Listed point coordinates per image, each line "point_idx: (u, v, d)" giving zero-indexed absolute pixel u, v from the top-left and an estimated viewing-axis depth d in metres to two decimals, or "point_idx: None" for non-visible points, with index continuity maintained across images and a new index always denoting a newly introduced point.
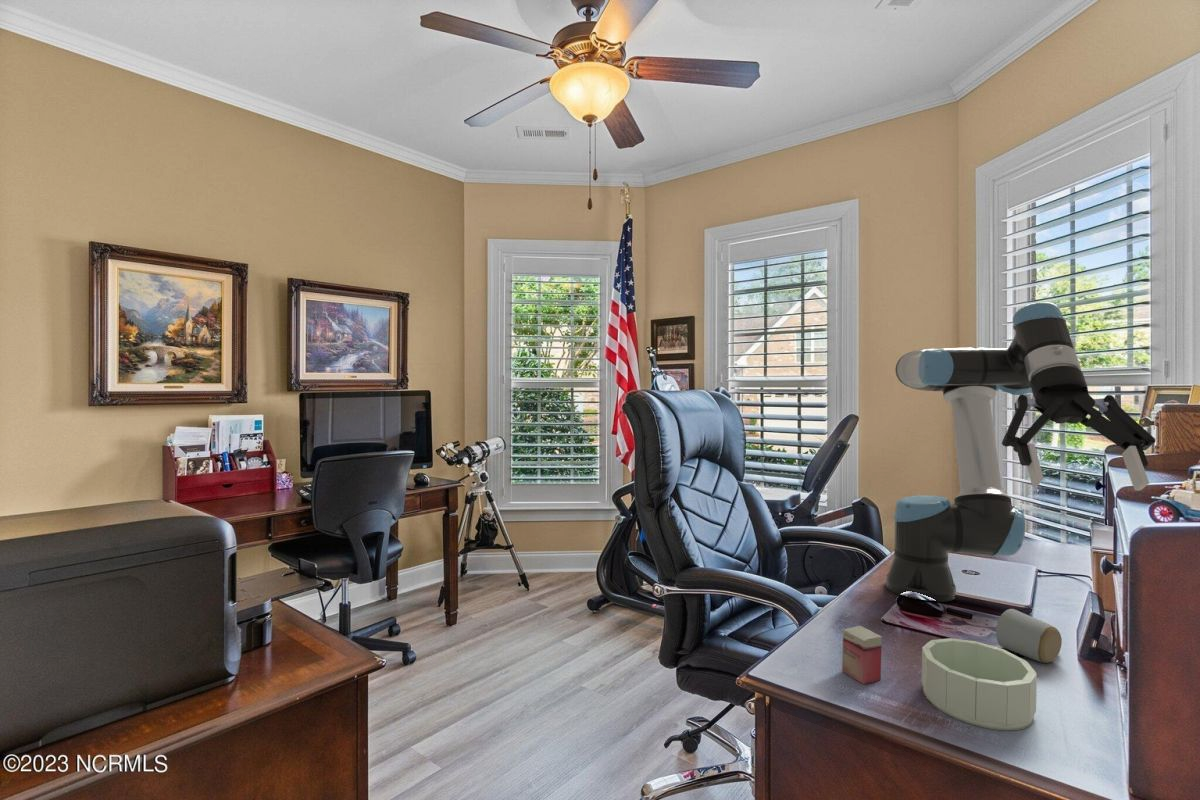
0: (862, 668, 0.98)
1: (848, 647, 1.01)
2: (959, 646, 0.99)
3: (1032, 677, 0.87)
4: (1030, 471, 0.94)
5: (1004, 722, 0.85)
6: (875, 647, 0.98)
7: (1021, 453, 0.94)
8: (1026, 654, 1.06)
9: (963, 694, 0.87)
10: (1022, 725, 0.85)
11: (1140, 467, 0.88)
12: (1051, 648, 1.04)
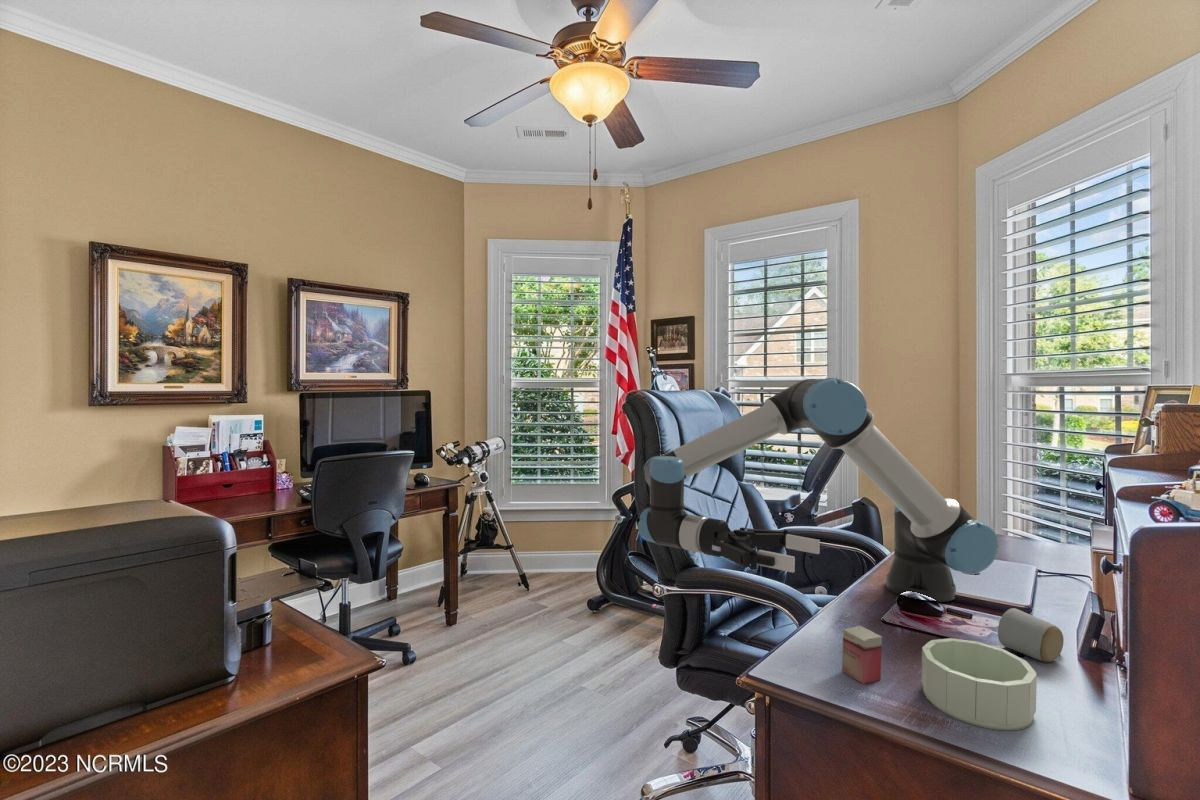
0: (862, 668, 0.98)
1: (848, 647, 1.01)
2: (959, 646, 0.99)
3: (1032, 677, 0.87)
4: None
5: (1004, 722, 0.85)
6: (875, 647, 0.98)
7: None
8: (1028, 653, 1.06)
9: (963, 694, 0.87)
10: (1022, 725, 0.85)
11: None
12: (1053, 647, 1.04)
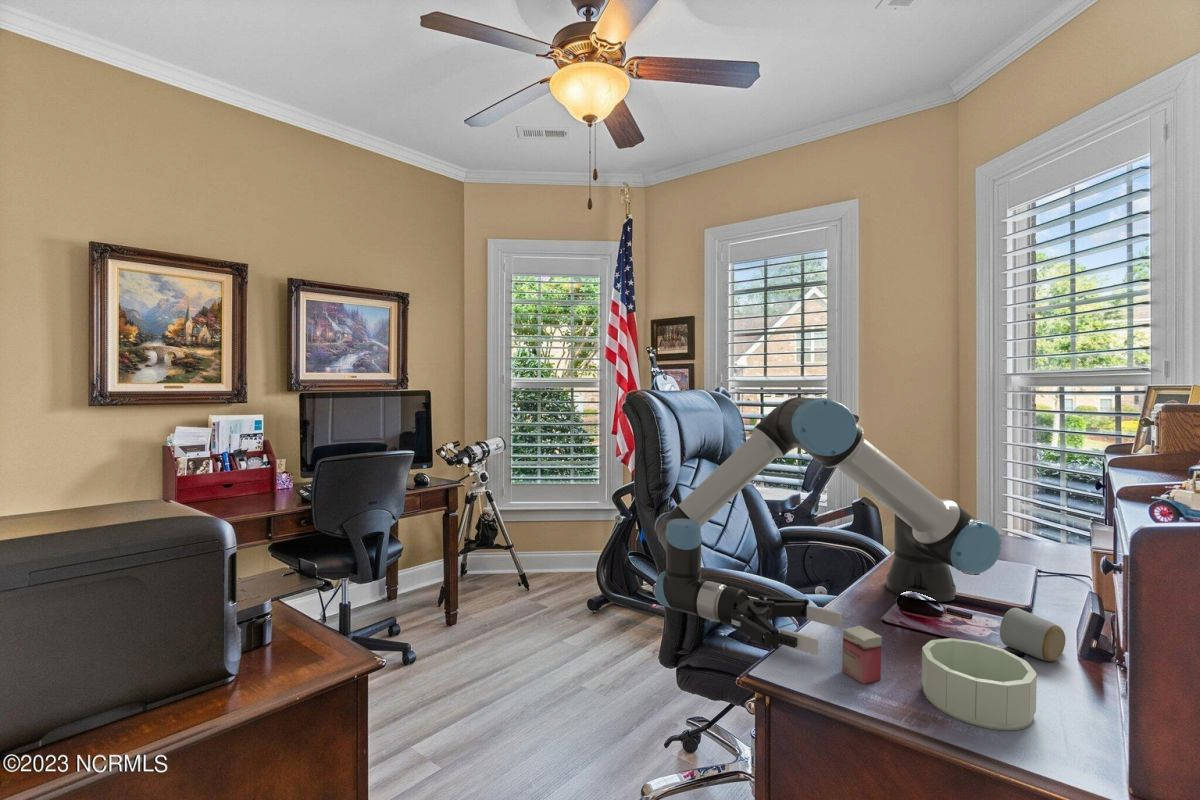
0: (862, 668, 0.98)
1: (848, 647, 1.01)
2: (959, 646, 0.99)
3: (1032, 677, 0.87)
4: None
5: (1004, 722, 0.85)
6: (875, 647, 0.98)
7: None
8: (1030, 652, 1.06)
9: (963, 694, 0.87)
10: (1022, 725, 0.85)
11: None
12: (1055, 646, 1.05)
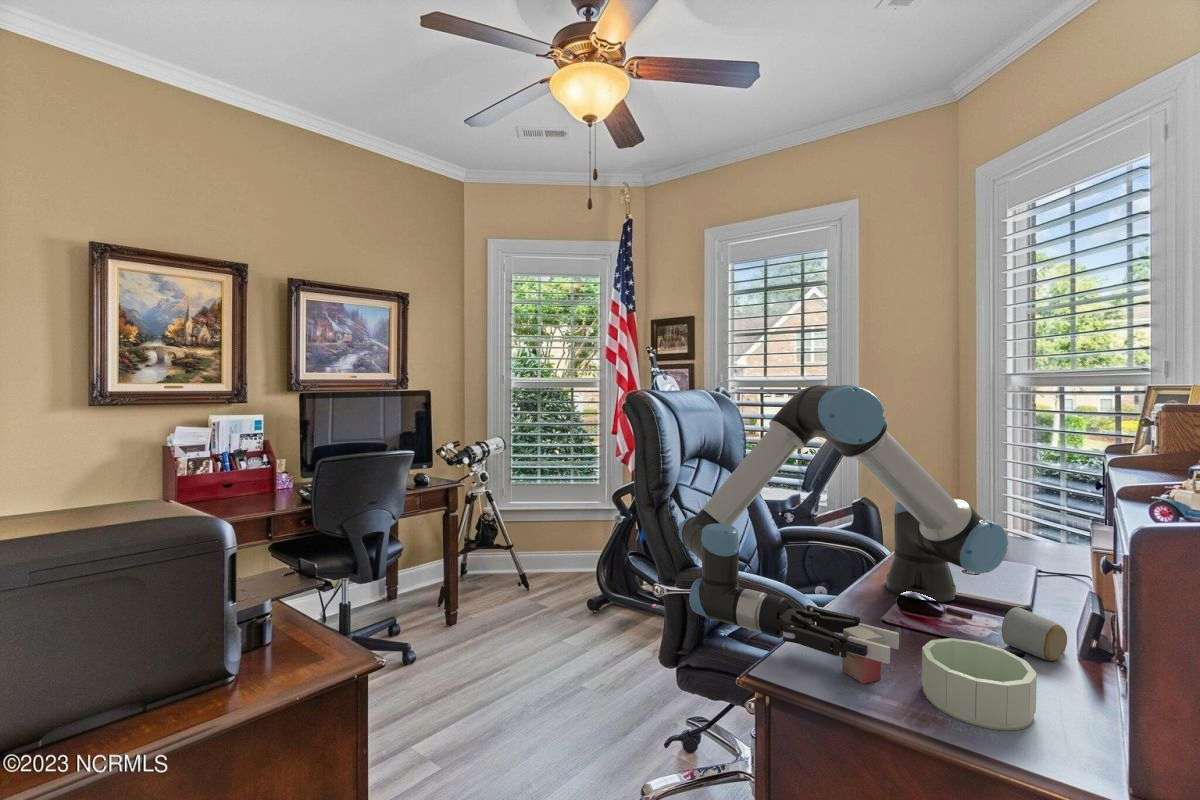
0: (862, 668, 0.98)
1: None
2: (959, 646, 0.99)
3: (1032, 677, 0.87)
4: None
5: (1004, 722, 0.85)
6: None
7: None
8: (1032, 652, 1.06)
9: (963, 694, 0.87)
10: (1022, 725, 0.85)
11: None
12: (1056, 646, 1.05)
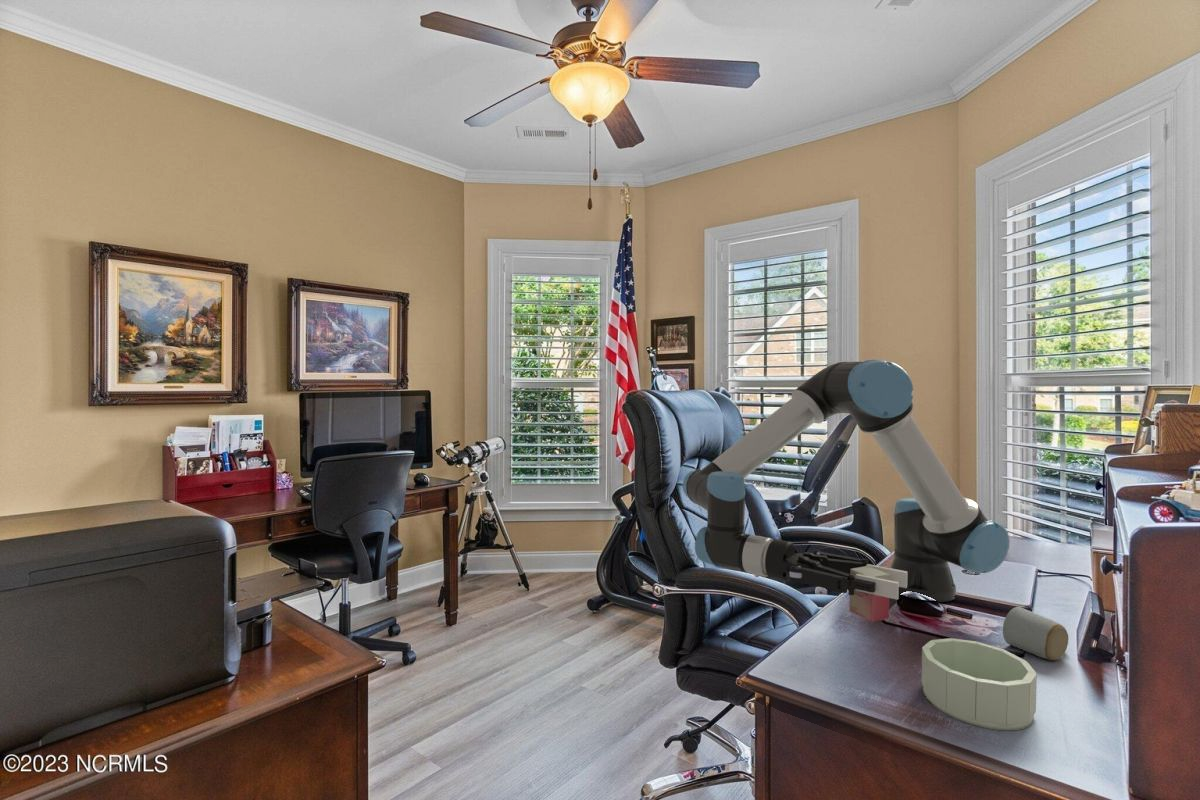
0: (870, 605, 0.97)
1: None
2: (959, 646, 0.99)
3: (1032, 677, 0.87)
4: None
5: (1004, 722, 0.85)
6: None
7: None
8: (1033, 651, 1.07)
9: (963, 694, 0.87)
10: (1022, 725, 0.85)
11: None
12: (1058, 645, 1.05)
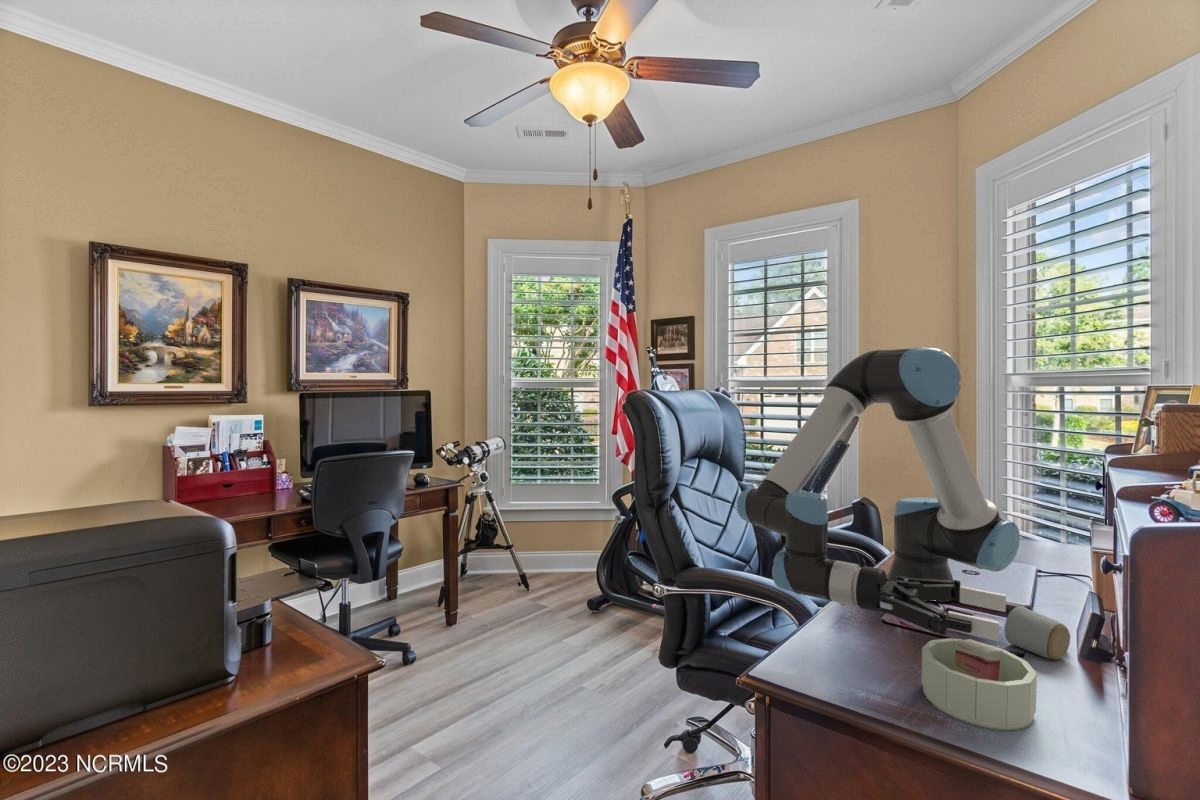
0: None
1: (963, 661, 0.92)
2: None
3: (1032, 677, 0.87)
4: None
5: (1004, 722, 0.85)
6: (995, 661, 0.91)
7: None
8: (1035, 651, 1.07)
9: (963, 694, 0.87)
10: (1022, 725, 0.85)
11: None
12: (1059, 645, 1.05)
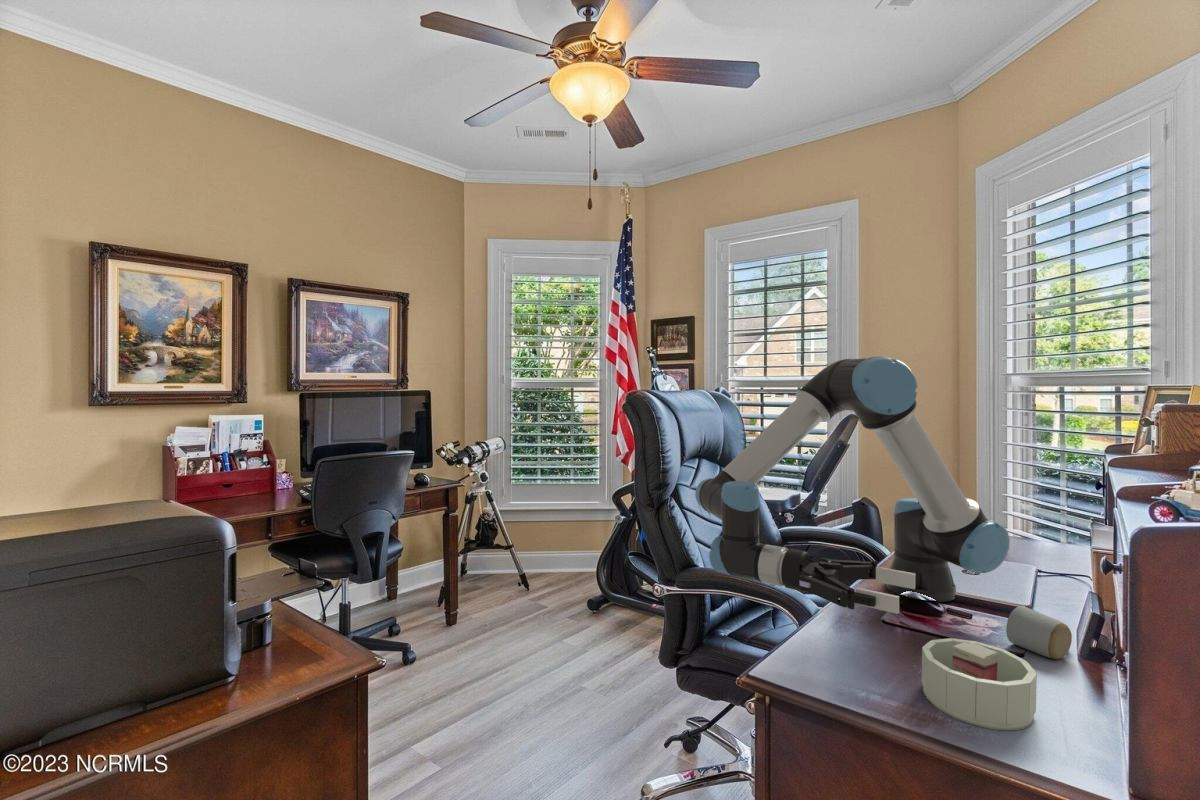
0: None
1: (960, 666, 0.92)
2: None
3: (1032, 677, 0.87)
4: None
5: (1004, 722, 0.85)
6: (993, 664, 0.90)
7: None
8: (1036, 650, 1.07)
9: (963, 694, 0.87)
10: (1022, 725, 0.85)
11: None
12: (1061, 644, 1.06)
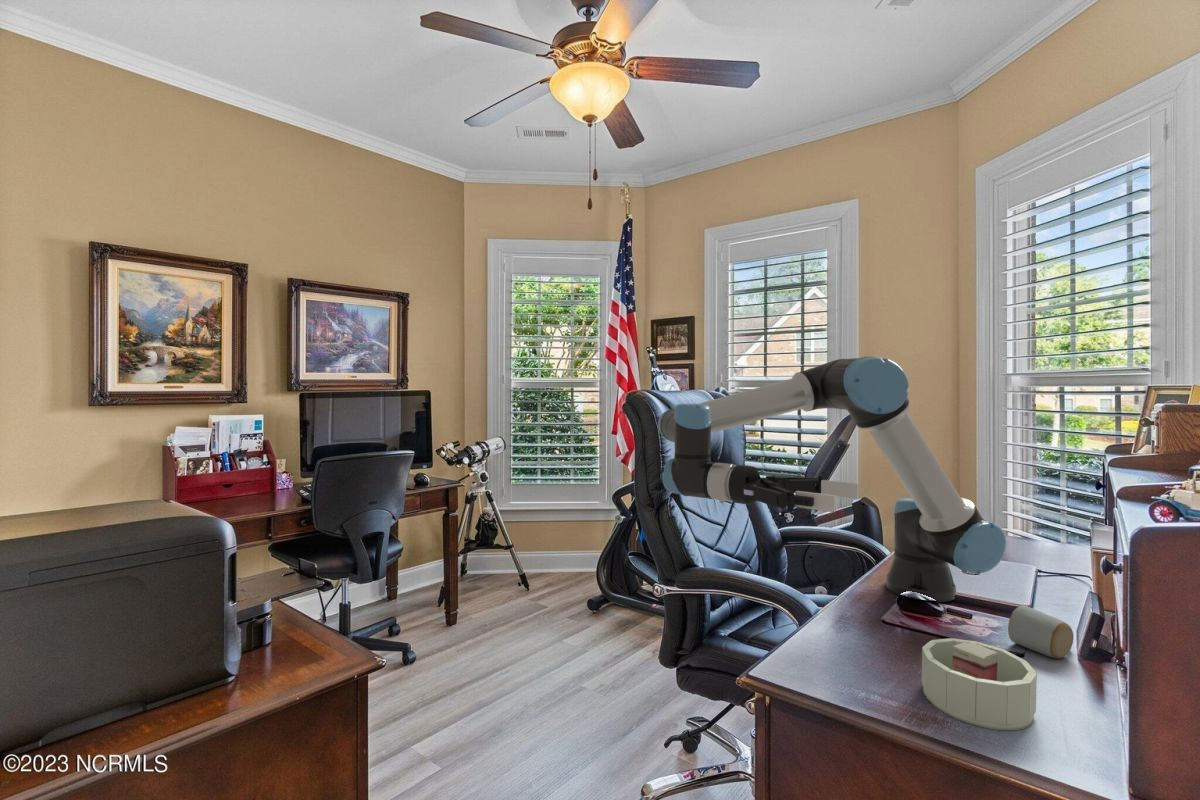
0: None
1: (960, 666, 0.92)
2: None
3: (1032, 677, 0.87)
4: None
5: (1004, 722, 0.85)
6: (993, 664, 0.90)
7: None
8: (1038, 650, 1.07)
9: (963, 694, 0.87)
10: (1022, 725, 0.85)
11: None
12: (1063, 643, 1.06)
